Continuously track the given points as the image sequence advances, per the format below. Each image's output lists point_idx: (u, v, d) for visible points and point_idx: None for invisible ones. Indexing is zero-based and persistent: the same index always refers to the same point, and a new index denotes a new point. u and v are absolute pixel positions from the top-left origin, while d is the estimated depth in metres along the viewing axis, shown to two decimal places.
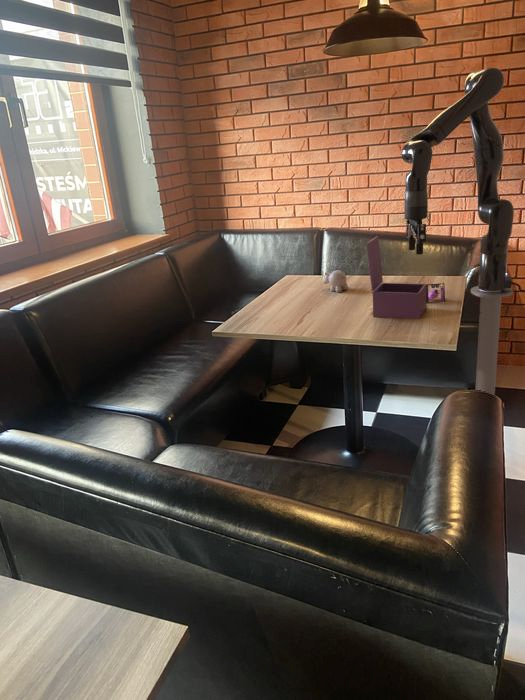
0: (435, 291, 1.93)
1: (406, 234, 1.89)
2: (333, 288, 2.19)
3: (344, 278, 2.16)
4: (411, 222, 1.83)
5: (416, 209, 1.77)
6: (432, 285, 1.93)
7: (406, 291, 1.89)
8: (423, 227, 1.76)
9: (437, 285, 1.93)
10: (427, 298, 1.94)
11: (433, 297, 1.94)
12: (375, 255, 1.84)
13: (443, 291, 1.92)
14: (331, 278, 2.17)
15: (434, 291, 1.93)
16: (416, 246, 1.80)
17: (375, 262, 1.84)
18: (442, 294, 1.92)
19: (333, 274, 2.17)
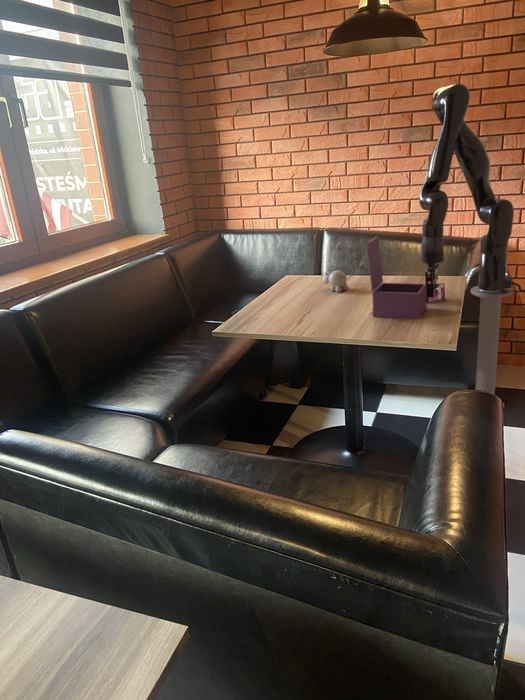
0: (435, 291, 1.93)
1: None
2: (333, 288, 2.19)
3: (344, 278, 2.16)
4: None
5: (427, 254, 1.87)
6: None
7: (406, 291, 1.89)
8: (429, 275, 1.86)
9: (437, 285, 1.93)
10: (427, 298, 1.94)
11: (433, 297, 1.94)
12: (375, 255, 1.84)
13: (443, 291, 1.92)
14: (331, 278, 2.17)
15: (434, 291, 1.93)
16: (427, 289, 1.92)
17: (375, 262, 1.84)
18: (442, 294, 1.92)
19: (333, 274, 2.17)
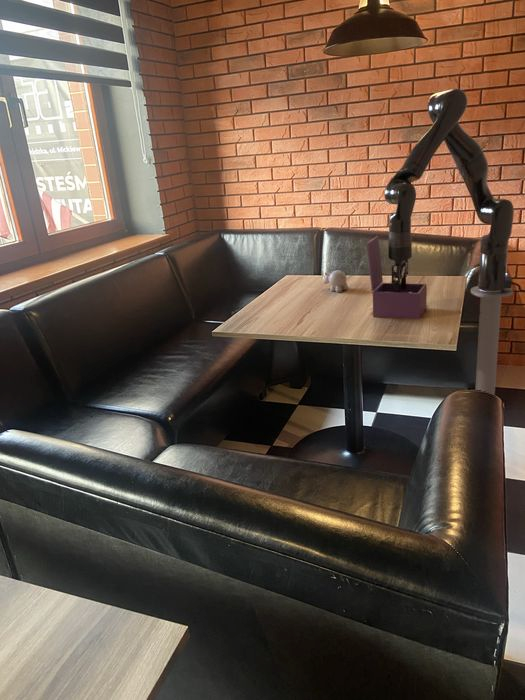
0: None
1: None
2: (333, 288, 2.19)
3: (344, 278, 2.16)
4: None
5: (394, 250, 1.76)
6: None
7: (406, 291, 1.89)
8: (396, 269, 1.75)
9: None
10: None
11: None
12: (375, 255, 1.84)
13: None
14: (331, 278, 2.17)
15: None
16: None
17: (375, 262, 1.84)
18: None
19: (333, 274, 2.17)
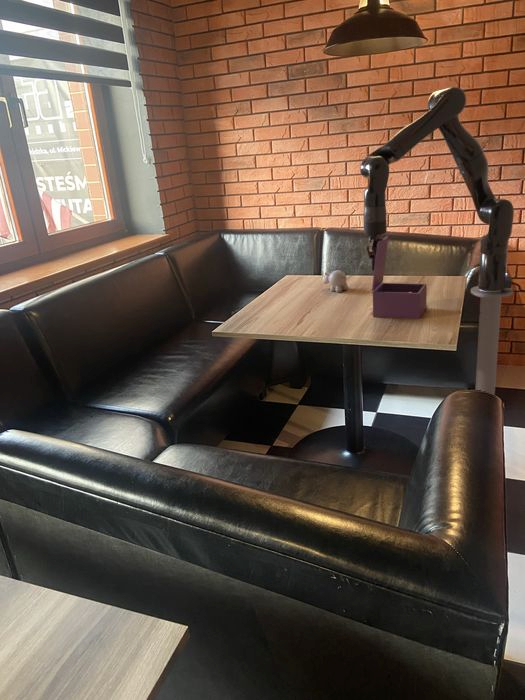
0: None
1: None
2: (333, 288, 2.19)
3: (344, 278, 2.16)
4: None
5: (369, 225, 1.77)
6: None
7: (406, 291, 1.89)
8: (371, 250, 1.77)
9: None
10: None
11: None
12: (382, 255, 1.83)
13: None
14: (331, 278, 2.17)
15: None
16: (372, 262, 1.84)
17: (380, 262, 1.83)
18: None
19: (333, 274, 2.17)
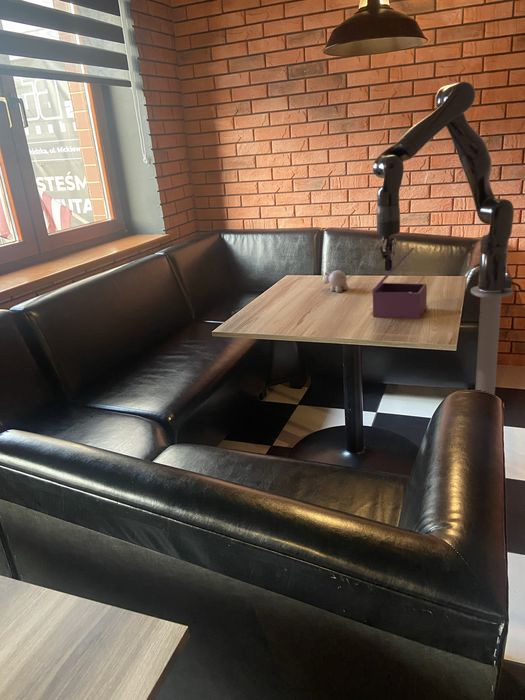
0: None
1: None
2: (333, 288, 2.19)
3: (344, 278, 2.16)
4: None
5: (382, 224, 1.75)
6: None
7: (406, 291, 1.89)
8: (385, 250, 1.75)
9: None
10: None
11: None
12: None
13: None
14: (331, 278, 2.17)
15: None
16: (385, 262, 1.82)
17: None
18: None
19: (333, 274, 2.17)
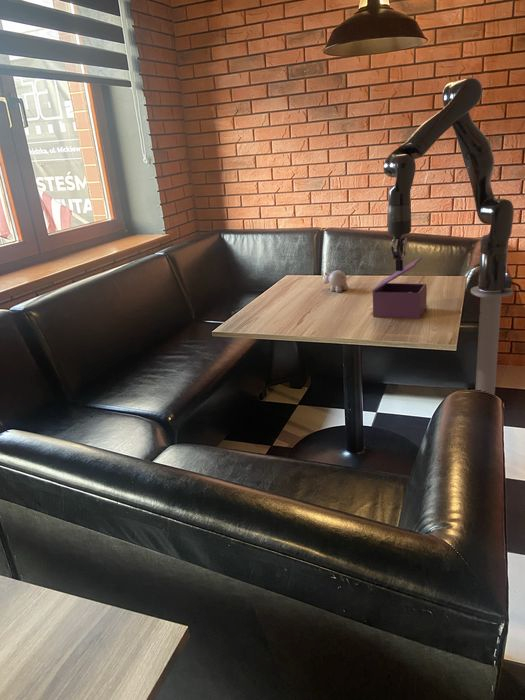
0: None
1: None
2: (333, 288, 2.19)
3: (344, 278, 2.16)
4: None
5: (393, 224, 1.74)
6: None
7: (406, 291, 1.89)
8: (396, 250, 1.74)
9: None
10: None
11: None
12: (404, 270, 1.81)
13: None
14: (331, 278, 2.17)
15: None
16: None
17: None
18: None
19: (333, 274, 2.17)
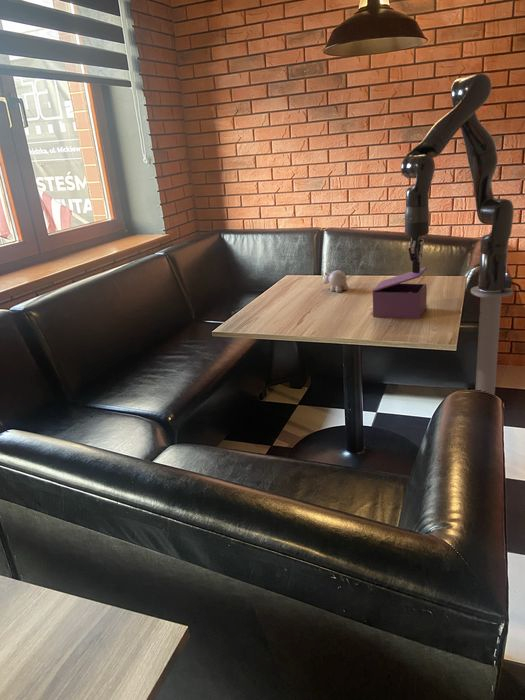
0: None
1: None
2: (333, 288, 2.19)
3: (344, 278, 2.16)
4: None
5: (411, 225, 1.71)
6: None
7: (406, 291, 1.89)
8: (414, 252, 1.71)
9: None
10: None
11: None
12: (407, 277, 1.81)
13: None
14: (331, 278, 2.17)
15: None
16: (412, 264, 1.78)
17: None
18: None
19: (333, 274, 2.17)
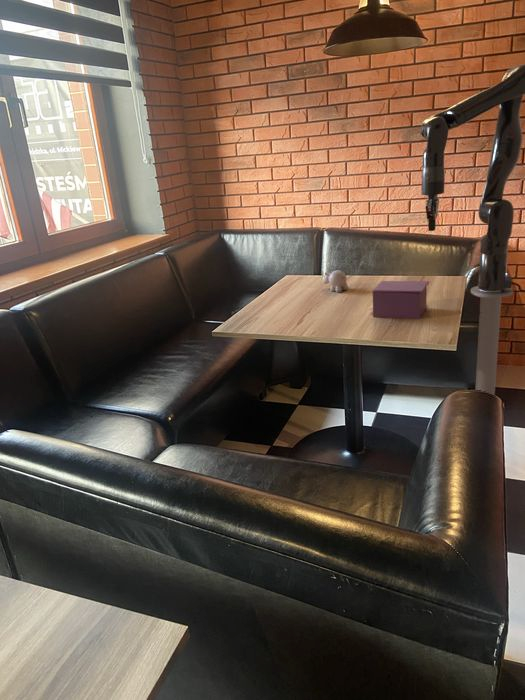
0: None
1: None
2: (333, 288, 2.19)
3: (344, 278, 2.16)
4: None
5: (427, 184, 1.82)
6: None
7: None
8: (430, 209, 1.83)
9: None
10: None
11: None
12: None
13: None
14: (331, 278, 2.17)
15: None
16: None
17: None
18: None
19: (333, 274, 2.17)
